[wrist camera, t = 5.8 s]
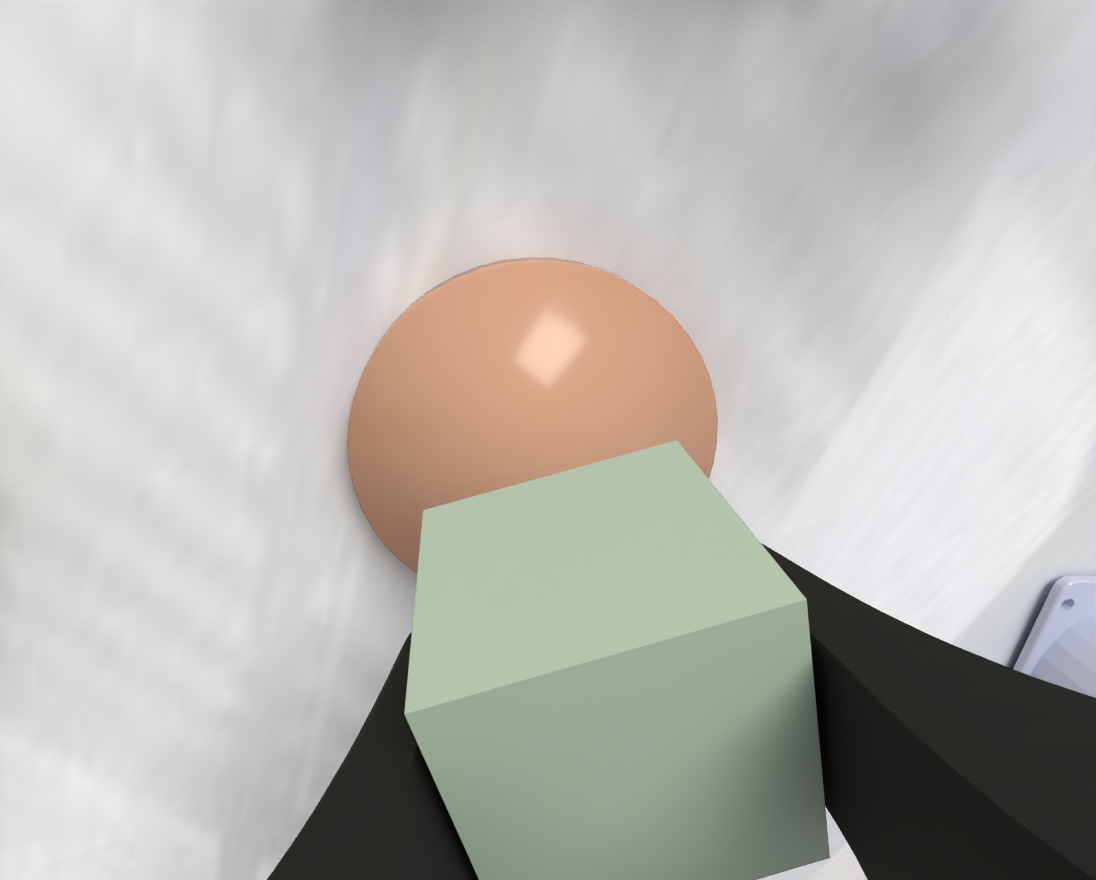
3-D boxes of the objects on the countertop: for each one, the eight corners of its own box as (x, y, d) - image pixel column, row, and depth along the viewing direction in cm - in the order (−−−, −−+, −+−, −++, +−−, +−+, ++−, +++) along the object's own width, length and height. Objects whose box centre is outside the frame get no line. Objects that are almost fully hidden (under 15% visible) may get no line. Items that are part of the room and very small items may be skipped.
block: (710, 639, 13) (829, 858, 9) (493, 701, 13) (511, 952, 9) (677, 440, 11) (807, 599, 7) (423, 509, 11) (403, 713, 7)
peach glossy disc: (670, 588, 21) (680, 607, 20) (353, 583, 19) (348, 604, 19) (738, 276, 17) (754, 283, 16) (352, 238, 16) (346, 242, 15)
